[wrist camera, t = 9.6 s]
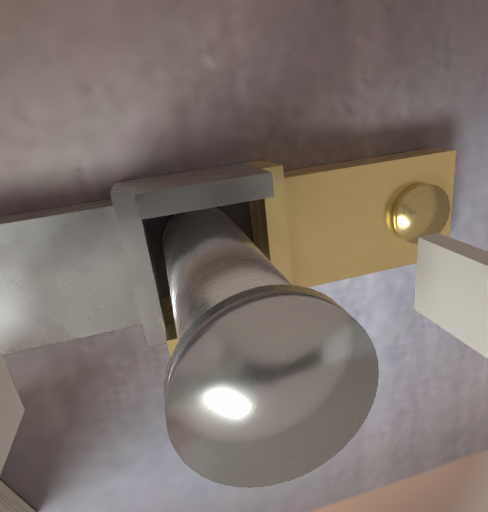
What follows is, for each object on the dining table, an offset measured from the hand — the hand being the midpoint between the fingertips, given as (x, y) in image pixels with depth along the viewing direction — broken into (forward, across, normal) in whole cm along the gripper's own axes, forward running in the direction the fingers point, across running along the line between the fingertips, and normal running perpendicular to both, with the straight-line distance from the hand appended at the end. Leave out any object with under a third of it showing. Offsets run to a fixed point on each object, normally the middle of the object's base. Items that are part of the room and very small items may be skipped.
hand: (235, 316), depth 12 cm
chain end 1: (+9, -5, 0) cm, 10 cm away
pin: (+9, 0, 0) cm, 9 cm away
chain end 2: (+9, +6, 0) cm, 11 cm away
